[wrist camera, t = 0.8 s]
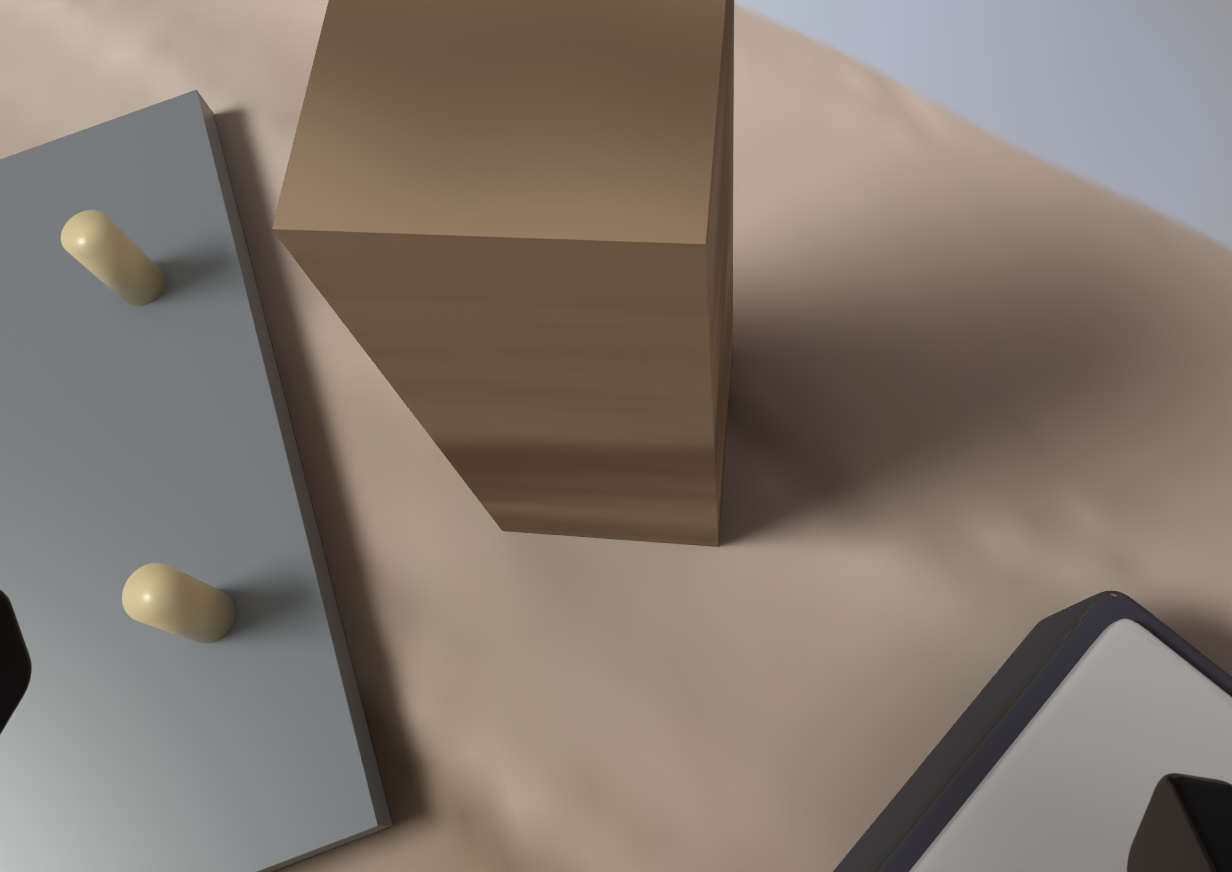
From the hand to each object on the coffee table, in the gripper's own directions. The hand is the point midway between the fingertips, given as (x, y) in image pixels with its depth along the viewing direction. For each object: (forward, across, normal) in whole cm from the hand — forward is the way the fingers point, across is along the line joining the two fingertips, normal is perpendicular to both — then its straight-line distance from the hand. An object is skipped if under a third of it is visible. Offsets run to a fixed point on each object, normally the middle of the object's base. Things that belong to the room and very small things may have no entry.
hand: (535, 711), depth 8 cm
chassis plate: (+12, +16, +9) cm, 22 cm away
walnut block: (+15, +2, +7) cm, 17 cm away
